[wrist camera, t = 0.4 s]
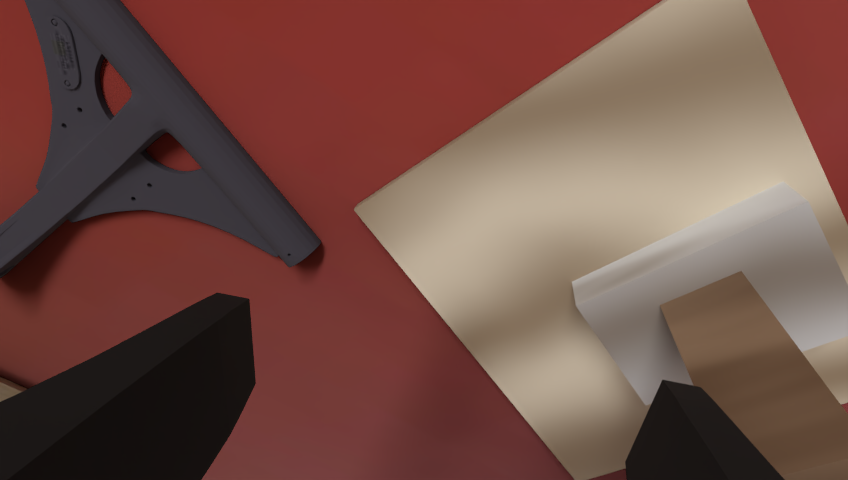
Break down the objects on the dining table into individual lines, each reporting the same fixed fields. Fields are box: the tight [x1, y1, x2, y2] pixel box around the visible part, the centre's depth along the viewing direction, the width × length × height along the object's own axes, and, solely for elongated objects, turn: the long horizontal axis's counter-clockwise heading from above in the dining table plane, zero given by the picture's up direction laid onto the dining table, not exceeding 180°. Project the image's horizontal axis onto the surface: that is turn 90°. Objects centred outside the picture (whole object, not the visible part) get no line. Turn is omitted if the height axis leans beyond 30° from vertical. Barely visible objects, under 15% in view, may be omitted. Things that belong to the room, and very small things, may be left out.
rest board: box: [354, 0, 848, 480], centre depth 18 cm, size 16×13×1 cm
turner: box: [572, 182, 848, 480], centre depth 14 cm, size 5×7×8 cm
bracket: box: [0, 0, 321, 278], centre depth 20 cm, size 14×15×3 cm
